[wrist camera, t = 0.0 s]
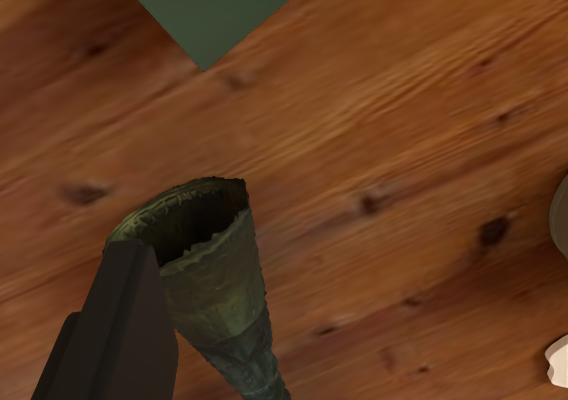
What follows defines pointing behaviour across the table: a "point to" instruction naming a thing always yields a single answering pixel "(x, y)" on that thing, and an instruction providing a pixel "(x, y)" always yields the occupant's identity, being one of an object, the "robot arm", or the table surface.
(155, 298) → the robot arm
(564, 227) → the can
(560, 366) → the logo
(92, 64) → the table surface
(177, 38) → the cover
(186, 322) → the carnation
